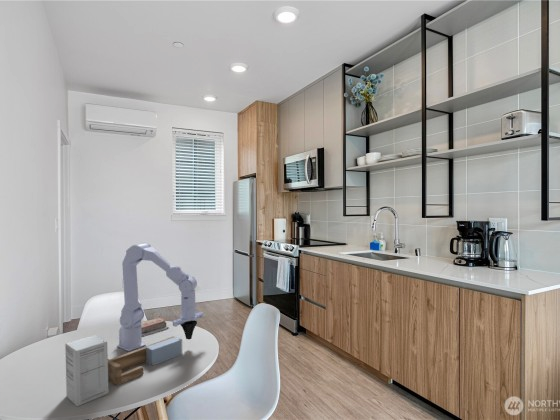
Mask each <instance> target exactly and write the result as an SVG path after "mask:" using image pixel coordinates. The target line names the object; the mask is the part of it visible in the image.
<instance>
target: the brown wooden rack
mask: <svg viewBox="0 0 560 420" xmlns="http://www.w3.org/2000/svg"><path fill="white" fill-rule="evenodd" d="M174 337H175V336H170V337H167V338H165V339H162V340H160V341H157V342H153V343H151V344H149V345H145V346H142V347H140V348H137V349H134V350H131V351H128V352H127V353H123V354H122V355H119V356H115V357H113V358H110V359H109V358H108V382H110V383H112V384H114V385H116V386H119V385H121V384H123V383H125V382H128V381H131V380H132V379H136V378H137V377H139V376H142V375H144V367H143V366H142V365H140V364H143V363H145V362H146V347H148V346H151V345H154V344H157V343H160V342H163V341H166V340H168V339H171V338H174ZM138 365H139V366H138ZM135 366H137V367H135ZM133 367H135V368H133ZM130 368H132V369H130ZM128 369H130V370H128ZM126 370H128V371H126ZM123 371H125V372H123ZM122 372H123V373H122Z"/></svg>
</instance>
